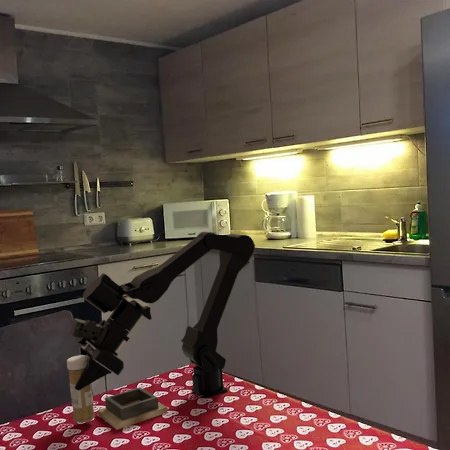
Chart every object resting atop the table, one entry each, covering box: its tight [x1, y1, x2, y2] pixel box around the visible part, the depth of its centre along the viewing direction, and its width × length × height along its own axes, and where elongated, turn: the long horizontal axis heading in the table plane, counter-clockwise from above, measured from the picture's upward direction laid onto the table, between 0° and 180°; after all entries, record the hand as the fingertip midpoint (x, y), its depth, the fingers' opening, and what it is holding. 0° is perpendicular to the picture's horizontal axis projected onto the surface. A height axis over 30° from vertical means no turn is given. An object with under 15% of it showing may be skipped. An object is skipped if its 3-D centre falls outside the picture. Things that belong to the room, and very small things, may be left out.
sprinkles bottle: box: [66, 354, 96, 424], centre depth 116 cm, size 5×5×14 cm
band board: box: [97, 386, 168, 431], centre depth 121 cm, size 12×10×4 cm
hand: (73, 386), depth 116 cm, fingers closed on sprinkles bottle, 4 cm apart
